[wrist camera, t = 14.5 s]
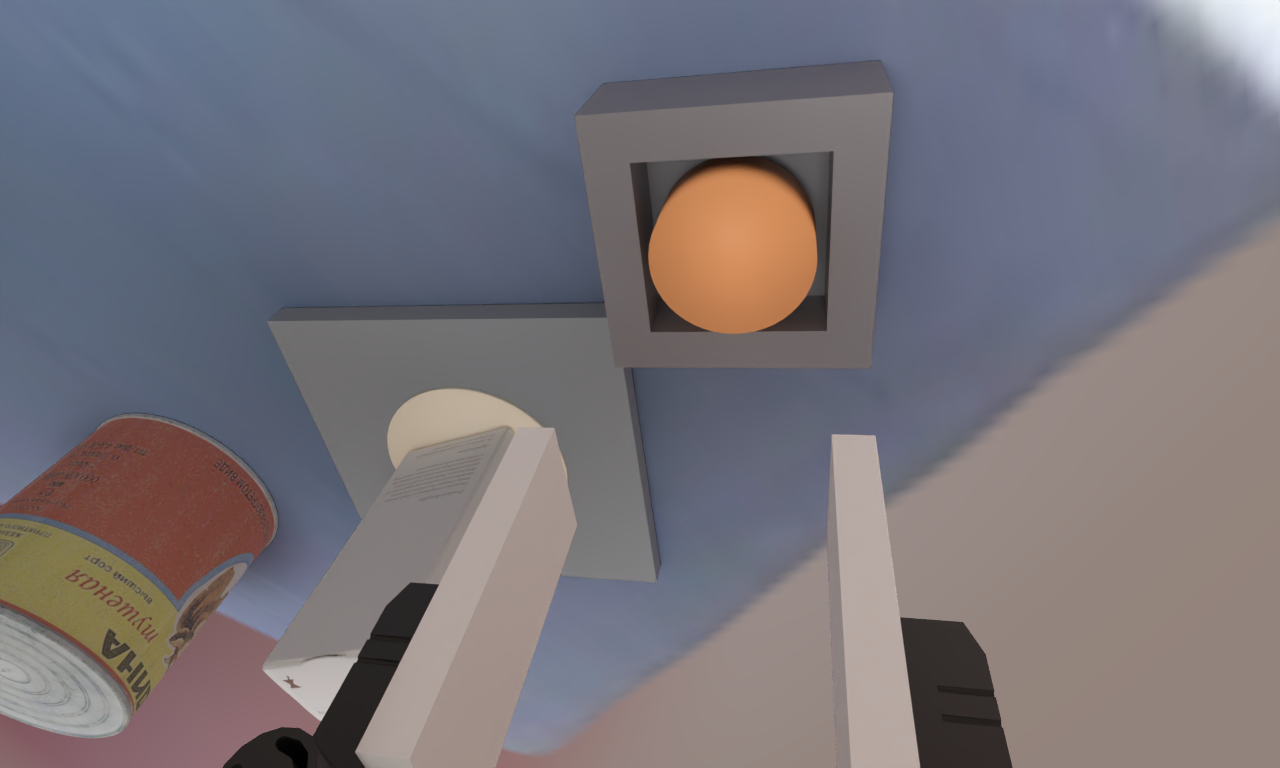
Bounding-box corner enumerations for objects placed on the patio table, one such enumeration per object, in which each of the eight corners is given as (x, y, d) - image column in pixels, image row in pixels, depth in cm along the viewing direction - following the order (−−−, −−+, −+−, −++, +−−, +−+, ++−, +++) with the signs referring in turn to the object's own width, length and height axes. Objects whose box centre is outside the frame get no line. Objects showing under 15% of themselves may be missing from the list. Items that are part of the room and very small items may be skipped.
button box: (634, 313, 29) (615, 367, 26) (603, 83, 24) (573, 115, 21) (862, 310, 27) (870, 368, 24) (880, 60, 22) (893, 92, 19)
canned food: (259, 578, 46) (118, 763, 37) (89, 496, 44) (-107, 669, 35) (296, 479, 40) (137, 673, 30) (98, 378, 38) (-139, 551, 28)
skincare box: (453, 509, 36) (329, 739, 27) (404, 444, 34) (250, 670, 25) (556, 487, 34) (460, 731, 25) (510, 416, 32) (386, 653, 22)
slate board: (391, 547, 42) (380, 566, 41) (282, 307, 33) (264, 323, 31) (660, 564, 38) (656, 585, 37) (621, 302, 29) (614, 319, 28)
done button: (667, 301, 26) (657, 334, 24) (652, 159, 23) (639, 184, 21) (814, 299, 25) (814, 333, 23) (818, 149, 22) (819, 175, 20)
